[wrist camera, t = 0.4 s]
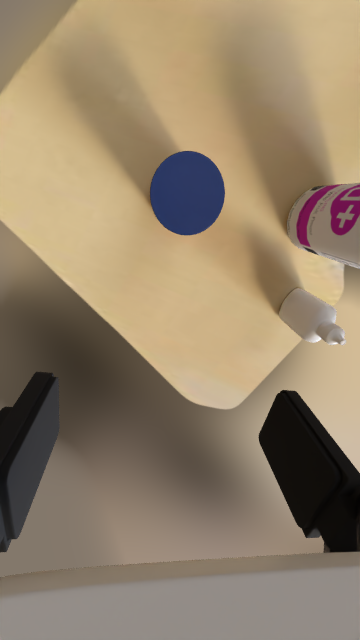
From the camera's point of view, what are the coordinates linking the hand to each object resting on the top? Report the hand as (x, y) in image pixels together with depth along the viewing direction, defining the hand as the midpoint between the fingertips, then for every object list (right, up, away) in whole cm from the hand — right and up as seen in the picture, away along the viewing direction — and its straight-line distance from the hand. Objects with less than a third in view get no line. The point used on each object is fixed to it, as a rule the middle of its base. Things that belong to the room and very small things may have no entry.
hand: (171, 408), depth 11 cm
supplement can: (+19, +18, +24) cm, 35 cm away
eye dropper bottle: (+18, +6, +30) cm, 36 cm away
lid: (+1, +15, +12) cm, 19 cm away
